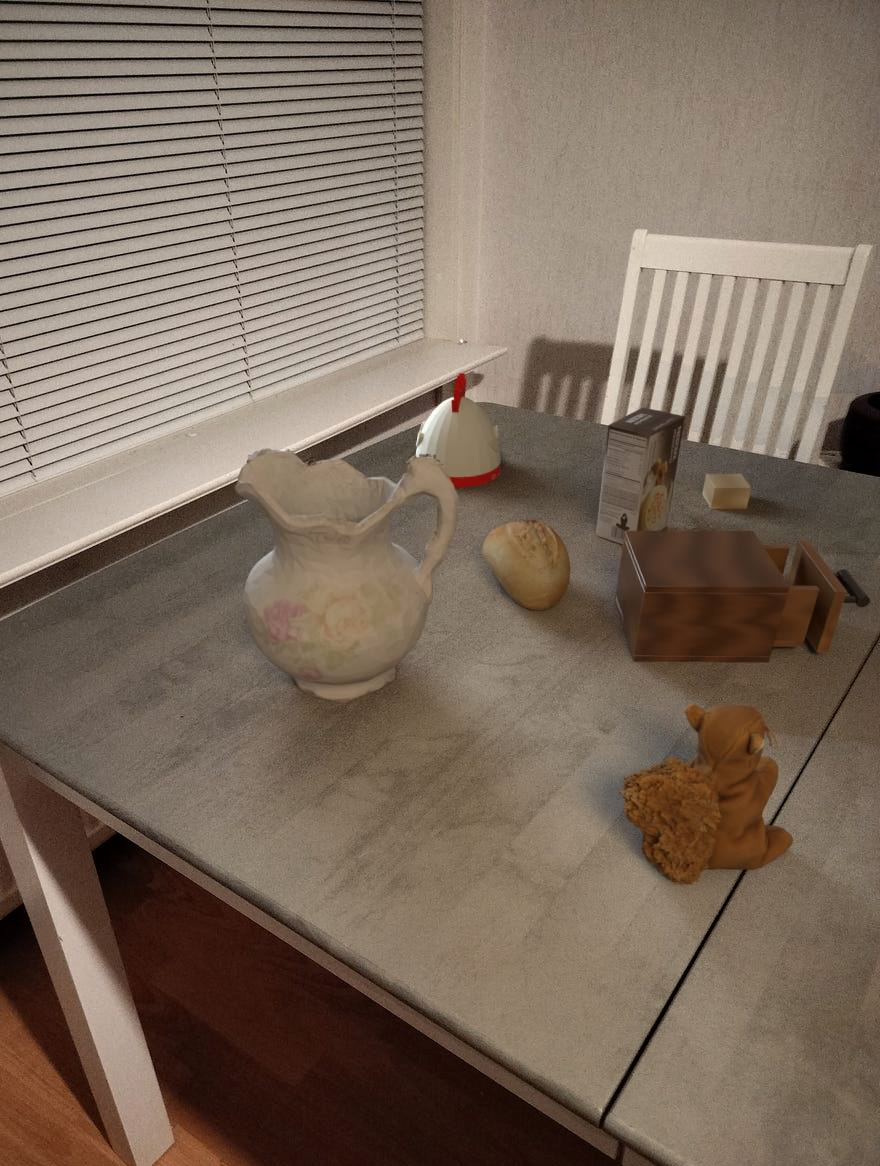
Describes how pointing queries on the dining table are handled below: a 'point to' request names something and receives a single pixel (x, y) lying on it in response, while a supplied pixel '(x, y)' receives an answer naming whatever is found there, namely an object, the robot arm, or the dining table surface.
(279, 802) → the dining table surface
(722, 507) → the block
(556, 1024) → the dining table surface
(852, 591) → the drawer
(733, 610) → the cabinet
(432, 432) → the white chicken egg cooker
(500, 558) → the bread roll
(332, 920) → the dining table surface
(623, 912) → the dining table surface
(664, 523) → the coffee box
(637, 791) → the stuffed squirrel
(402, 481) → the ceramic pitcher
